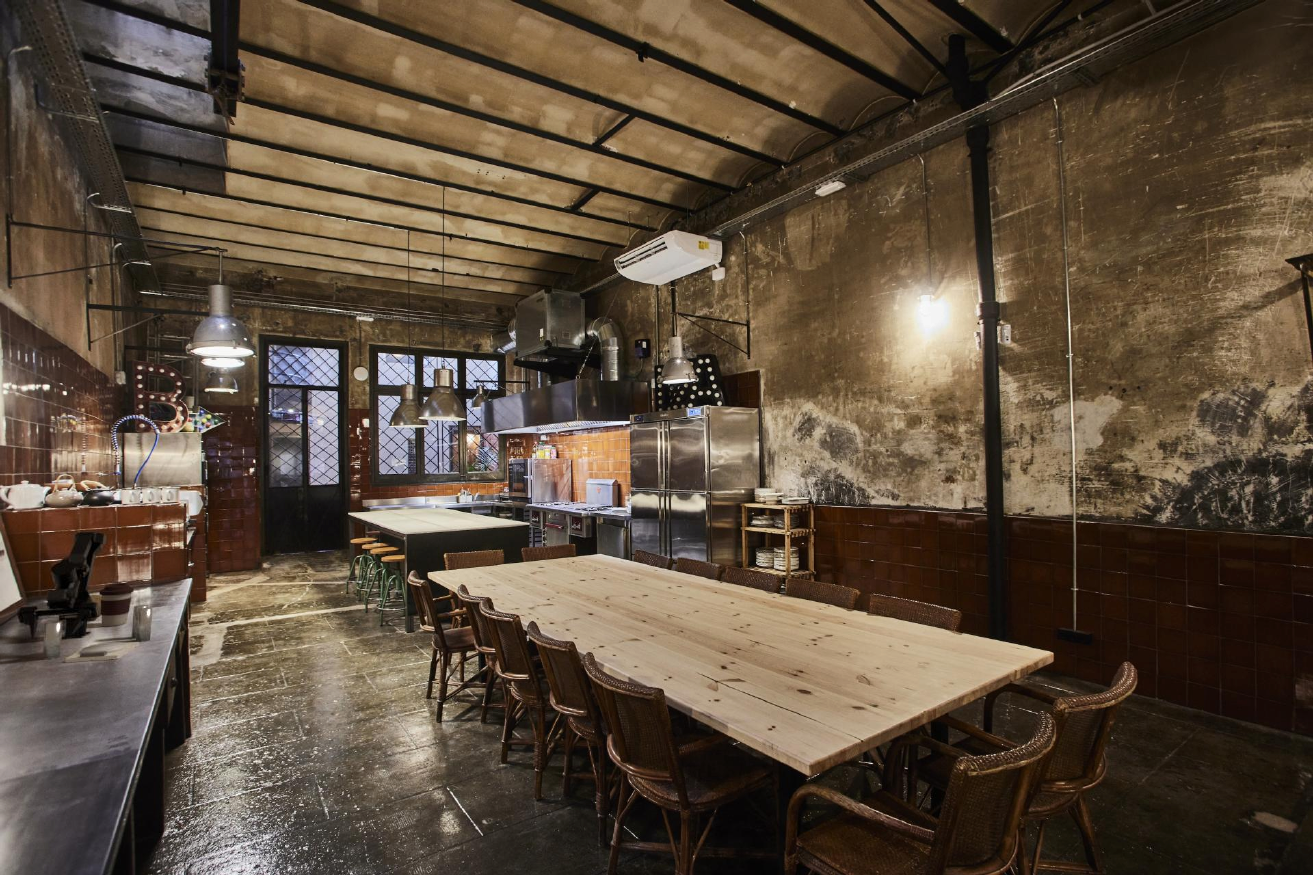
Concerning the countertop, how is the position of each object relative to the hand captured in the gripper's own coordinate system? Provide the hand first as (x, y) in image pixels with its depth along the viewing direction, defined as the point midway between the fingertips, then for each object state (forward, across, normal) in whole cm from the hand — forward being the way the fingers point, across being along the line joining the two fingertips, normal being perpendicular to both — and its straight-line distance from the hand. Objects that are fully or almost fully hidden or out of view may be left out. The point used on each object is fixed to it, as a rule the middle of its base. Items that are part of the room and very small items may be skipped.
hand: (52, 635), depth 195 cm
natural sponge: (-34, -1, +44) cm, 56 cm away
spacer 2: (-8, +19, +18) cm, 27 cm away
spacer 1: (+4, 0, +6) cm, 7 cm away
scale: (+6, +13, +5) cm, 15 cm away
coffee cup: (-26, +8, +36) cm, 46 cm away
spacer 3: (-4, +21, +14) cm, 26 cm away
